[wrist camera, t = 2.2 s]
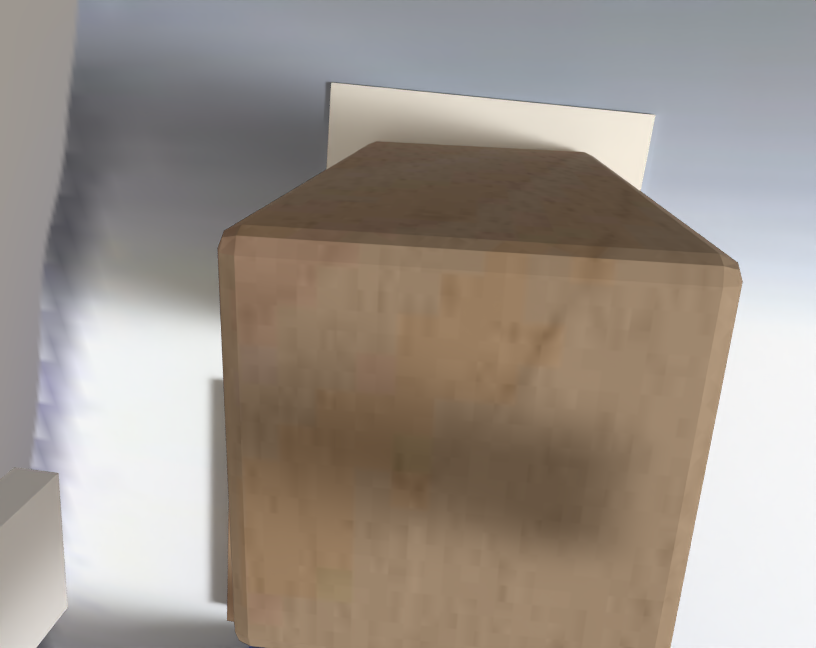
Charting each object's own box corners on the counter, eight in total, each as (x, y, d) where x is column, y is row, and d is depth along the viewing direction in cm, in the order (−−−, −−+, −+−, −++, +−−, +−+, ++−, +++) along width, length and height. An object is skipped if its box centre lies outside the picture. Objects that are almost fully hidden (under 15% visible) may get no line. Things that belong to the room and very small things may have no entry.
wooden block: (362, 349, 36) (227, 653, 17) (366, 139, 33) (207, 228, 14) (568, 364, 35) (668, 701, 16) (594, 151, 32) (757, 262, 13)
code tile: (332, 82, 32) (331, 82, 32) (654, 114, 31) (655, 115, 31) (315, 374, 37) (314, 376, 37) (596, 409, 36) (596, 411, 36)
